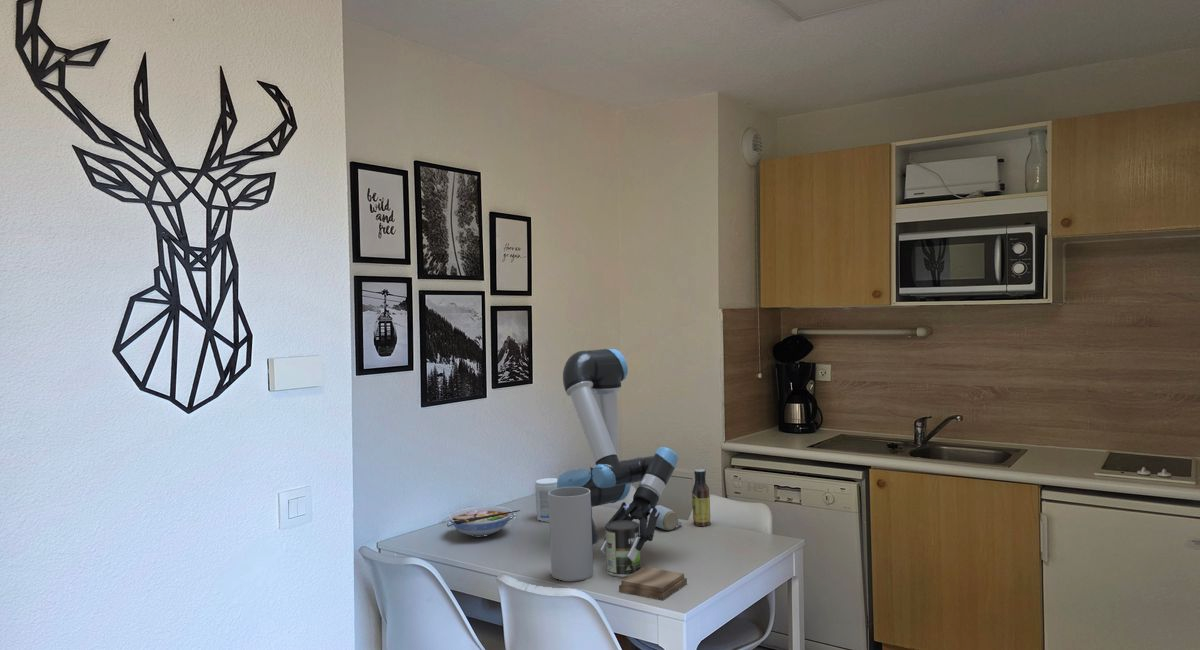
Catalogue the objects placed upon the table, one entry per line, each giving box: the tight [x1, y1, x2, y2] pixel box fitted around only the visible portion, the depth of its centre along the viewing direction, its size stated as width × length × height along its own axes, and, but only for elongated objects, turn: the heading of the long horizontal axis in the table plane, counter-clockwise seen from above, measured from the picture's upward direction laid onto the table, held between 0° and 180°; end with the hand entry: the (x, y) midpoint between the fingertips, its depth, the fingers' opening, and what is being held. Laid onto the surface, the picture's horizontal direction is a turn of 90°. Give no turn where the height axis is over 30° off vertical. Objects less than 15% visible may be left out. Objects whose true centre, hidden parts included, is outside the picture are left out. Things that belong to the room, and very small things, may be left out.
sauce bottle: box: [691, 468, 711, 527], centre depth 282 cm, size 6×6×20 cm
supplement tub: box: [534, 477, 558, 522], centre depth 298 cm, size 10×10×15 cm
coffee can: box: [604, 520, 642, 578], centre depth 236 cm, size 10×10×14 cm
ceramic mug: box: [655, 504, 682, 531], centre depth 280 cm, size 11×8×8 cm
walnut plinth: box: [618, 566, 688, 601], centre depth 221 cm, size 14×14×3 cm
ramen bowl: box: [448, 505, 521, 537], centre depth 281 cm, size 25×23×8 cm
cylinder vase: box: [548, 487, 594, 582], centre depth 234 cm, size 12×12×25 cm
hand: (616, 555), depth 234 cm, fingers closed on coffee can, 10 cm apart
